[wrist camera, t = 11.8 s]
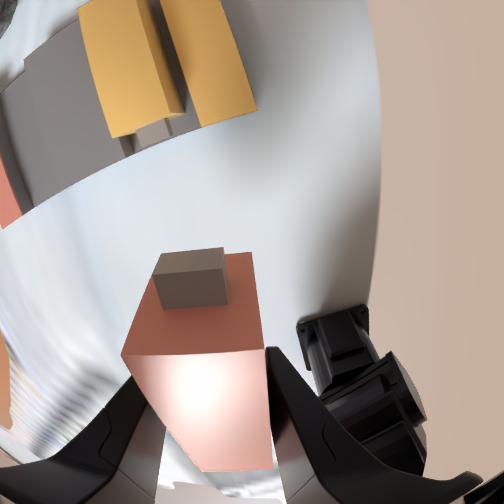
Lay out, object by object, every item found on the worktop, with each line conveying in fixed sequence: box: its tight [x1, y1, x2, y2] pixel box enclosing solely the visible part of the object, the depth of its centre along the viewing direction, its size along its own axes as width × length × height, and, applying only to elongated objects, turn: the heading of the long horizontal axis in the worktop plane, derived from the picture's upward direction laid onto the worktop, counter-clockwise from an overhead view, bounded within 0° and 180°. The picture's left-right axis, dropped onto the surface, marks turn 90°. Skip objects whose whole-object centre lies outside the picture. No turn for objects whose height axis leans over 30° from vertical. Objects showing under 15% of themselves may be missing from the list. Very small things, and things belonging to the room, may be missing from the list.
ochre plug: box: [77, 0, 185, 148], centre depth 11 cm, size 9×3×4 cm, turn 16°
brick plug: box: [121, 247, 273, 472], centre depth 9 cm, size 9×3×4 cm, turn 5°
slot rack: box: [0, 0, 258, 229], centre depth 13 cm, size 10×20×3 cm, turn 106°
